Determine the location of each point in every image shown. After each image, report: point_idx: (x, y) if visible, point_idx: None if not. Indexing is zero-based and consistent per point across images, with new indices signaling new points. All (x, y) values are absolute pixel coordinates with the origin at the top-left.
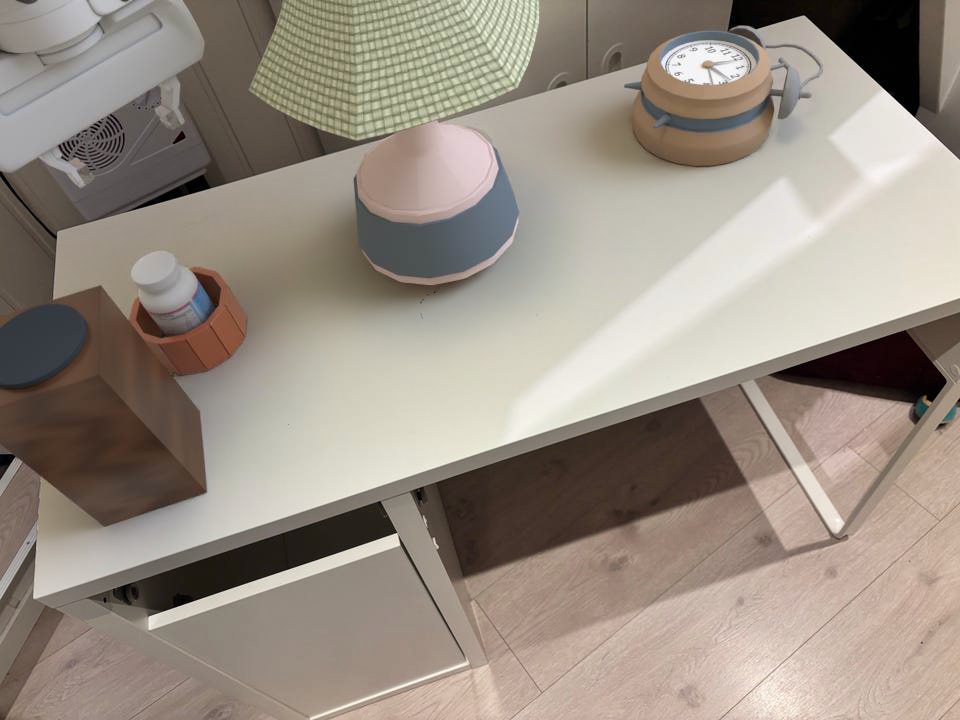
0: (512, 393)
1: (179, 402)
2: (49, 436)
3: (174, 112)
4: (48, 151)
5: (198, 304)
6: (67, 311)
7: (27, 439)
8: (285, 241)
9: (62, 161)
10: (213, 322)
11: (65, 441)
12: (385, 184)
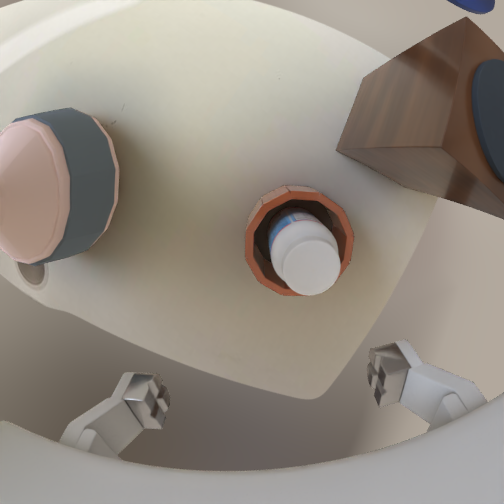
0: (128, 11)
1: (358, 126)
2: None
3: (124, 394)
4: (473, 408)
5: (286, 221)
6: (487, 127)
7: None
8: (172, 281)
9: (431, 392)
10: (284, 193)
11: None
12: (36, 181)
